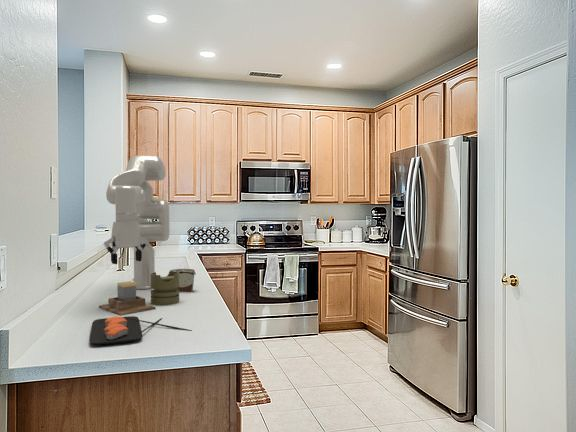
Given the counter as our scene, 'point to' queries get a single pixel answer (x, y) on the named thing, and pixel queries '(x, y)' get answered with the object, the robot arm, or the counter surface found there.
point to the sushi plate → (119, 329)
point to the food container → (185, 279)
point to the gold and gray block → (126, 291)
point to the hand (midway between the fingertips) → (126, 262)
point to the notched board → (126, 306)
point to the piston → (165, 289)
